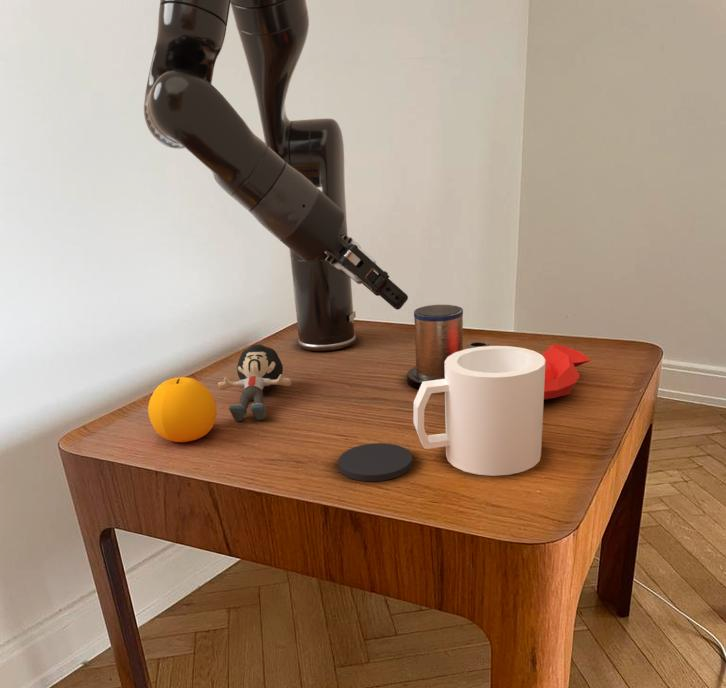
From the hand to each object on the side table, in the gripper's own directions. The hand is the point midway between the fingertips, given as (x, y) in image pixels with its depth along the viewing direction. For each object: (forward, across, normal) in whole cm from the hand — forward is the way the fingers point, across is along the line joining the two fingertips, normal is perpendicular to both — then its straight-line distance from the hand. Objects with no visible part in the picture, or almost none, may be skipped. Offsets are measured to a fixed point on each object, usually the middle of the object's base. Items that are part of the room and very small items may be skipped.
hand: (392, 296), depth 96 cm
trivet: (+2, -22, +16) cm, 27 cm away
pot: (+12, 0, +3) cm, 13 cm away
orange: (-11, -5, +29) cm, 32 cm away
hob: (+13, 0, +4) cm, 14 cm away
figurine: (-4, +3, +22) cm, 23 cm away
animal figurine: (+21, -9, -3) cm, 23 cm away
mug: (+10, -24, +8) cm, 28 cm away
